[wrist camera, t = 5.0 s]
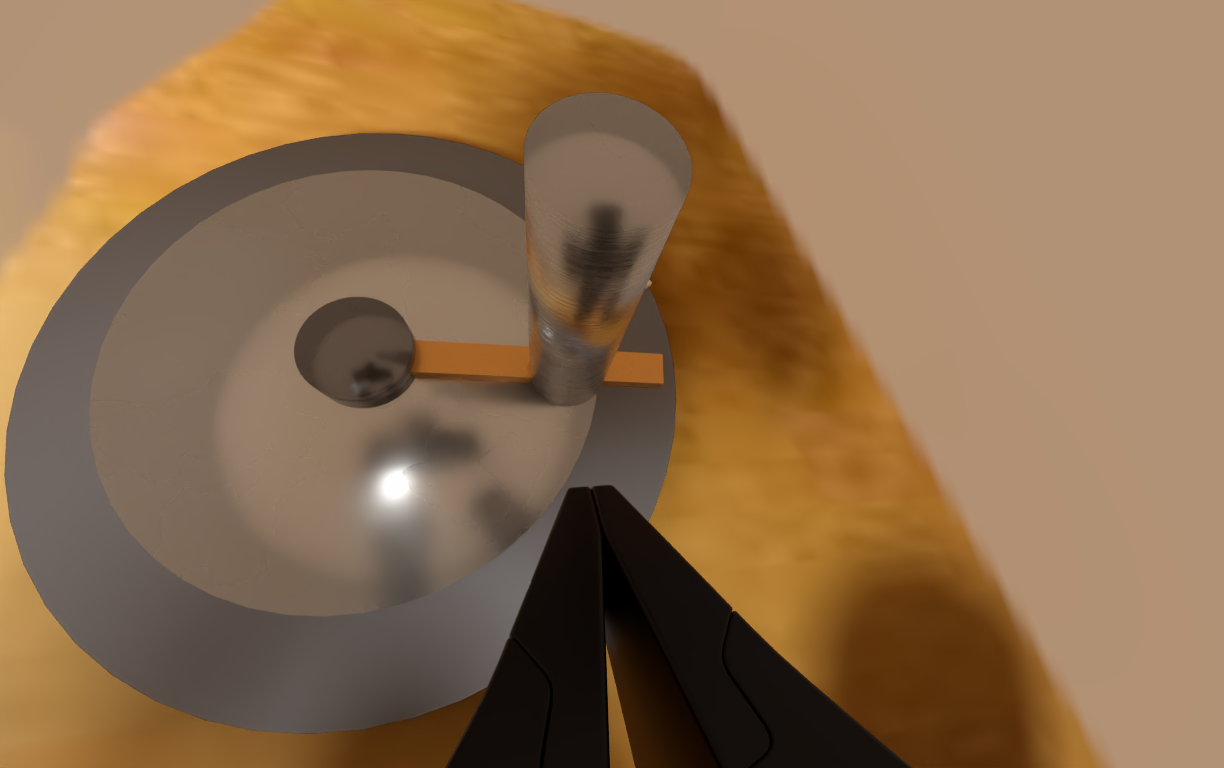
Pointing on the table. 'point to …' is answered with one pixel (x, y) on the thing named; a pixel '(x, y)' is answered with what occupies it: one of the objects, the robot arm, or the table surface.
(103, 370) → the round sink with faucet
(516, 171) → the dial base
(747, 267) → the table surface
